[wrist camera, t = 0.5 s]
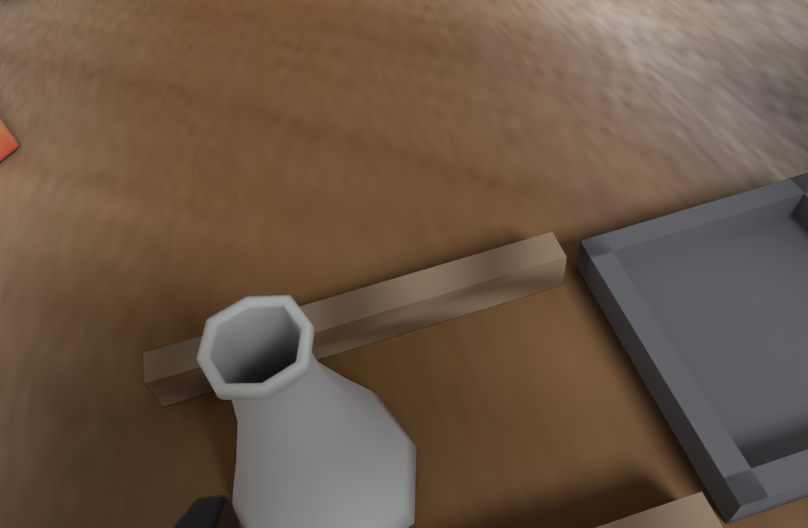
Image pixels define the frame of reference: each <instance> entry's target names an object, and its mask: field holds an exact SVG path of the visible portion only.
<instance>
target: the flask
mask: <svg viewBox="0 0 808 528" xmlns="http://www.w3.org/2000/svg"><path fill="white" fill-rule="evenodd" d="M313 339H314V327H313V325H312V324H311V322H310V321H309V320H308V318H307V317H306V316H305V314H304V313H303V312H302V310H301V309H300V308H299V306H298V305H297V303H296V302H295V301H294V299H293V298H292V297H291V295H271V296H246V297H245V298H243V299H241V300H239V301H238V302H236V303H234V304H232V305H231V306H229V307H227V308H226V309H224V310H222V311H220V312H219V313H217V314H215V315H213V316H212V317H210V318H208V319H207V320H206V324H205V328H204V331H203V335H202V339H201V343H200V347H199V351H198V354H197V358H196V359H197V361H198V363H199V365H200V367H201V368H202V370H203V372H204V374H205V375H206V377H207V379H208V381H209V382H210V384H211V386H212V388H213V389H214V391H215V393H216V395H217V396H218V398H220V399H222V400H232V403H233V407H234V410H235V414H236V418H237V422H238V425H237V454H236V469H235V478H234V487H233V500H232V504H233V507H234V510H235V512H236V514H237V516H238V518H239V520H240V522H241V524H242V526H243V528H409V527H410V526H411V525H413V524H414V515H415V484H416V454H417V447H416V446H415V444H414V443H413V442H412V440H411V439H410V438H409V436H408V435H407V434H406V432H405V431H404V430H403V428H402V427H401V426H400V424H399V423H398V422H397V420H396V419H395V418H394V416H393V415H392V414H391V412H390V411H389V410H388V408H387V407H386V406H385V404H384V403H383V402H382V401H381V399H380V398H379V397H378V395H377V394H376V393H374V392H372V391H371V390H369V389H367V388H365V387H363V386H361V385H358V384H356V383H354V382H352V381H350V380H348V379H346V378H344V377H343V376H341V375H339V374H338V373H336V372H334V371H332V370H331V369H329V368H327V367H326V366H324V365H322V364H321V363H319V362H318V361H317V360H316V358H315V357H314V355H313V353H312V346H313Z"/></svg>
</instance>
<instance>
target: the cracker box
mask: <svg viewBox="0 0 808 528" xmlns="http://www.w3.org/2000/svg"><path fill="white" fill-rule="evenodd" d="M18 146H19V144H18V142H17V141H16V139H15V138H14V136H13V135H12V134H11V132H10V131H9V130H8V128H7V127H6V126H5V124H4V123H3V121H2V120H1V119H0V161H2V160H3V159H4V158H5V157H7V156H8V155H9V154H10V153H12V152H13V151H14V150H15V149H16V148H17V147H18Z"/></svg>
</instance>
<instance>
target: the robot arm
mask: <svg viewBox="0 0 808 528" xmlns="http://www.w3.org/2000/svg"><path fill="white" fill-rule="evenodd" d="M173 528H241V526H240V524H239V521H238V518H237V515H236V513H235V510H234V507H233V504H232V502H231V500H230V499H229V497H228V496H225V495H219V496H211V497H203V498H199V499H197V500H196V501H195V502H193V503H192V505H191V506H190V507H189V508H188V509H187V511H186V512H185V513H184V514H183V515H182V517H181V518H180V519H179V520H178V522H177V523H176V524H175V525H174V526H173Z"/></svg>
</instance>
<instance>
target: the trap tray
mask: <svg viewBox="0 0 808 528" xmlns="http://www.w3.org/2000/svg"><path fill="white" fill-rule="evenodd" d="M577 268H578V270H579V271H580V273H581V275H582V276H583V278H584V280H585V282H586V283H587V285H588V287H589V288H590V290H591V292H592V294H593V295H594V297H595V299H596V301H597V302H598V304H599V306H600V307H601V309H602V311H603V313H604V314H605V316H606V318H607V319H608V321H609V323H610V325H611V326H612V328H613V330H614V331H615V333H616V335H617V337H618V338H619V340H620V342H621V343H622V345H623V347H624V349H625V350H626V352H627V354H628V355H629V357H630V359H631V361H632V362H633V364H634V366H635V367H636V369H637V371H638V373H639V374H640V376H641V378H642V380H643V381H644V383H645V385H646V386H647V388H648V390H649V392H650V393H651V395H652V397H653V398H654V400H655V402H656V404H657V405H658V407H659V409H660V410H661V412H662V414H663V416H664V417H665V419H666V421H667V422H668V424H669V426H670V428H671V429H672V431H673V433H674V434H675V436H676V438H677V440H678V441H679V443H680V445H681V447H682V448H683V450H684V452H685V453H686V455H687V457H688V459H689V460H690V462H691V464H692V465H693V467H694V469H695V471H696V472H697V474H698V476H699V477H700V479H701V481H702V483H703V484H704V486H705V488H706V489H707V491H708V493H709V495H710V496H711V498H712V500H713V501H714V503H715V505H716V507H717V508H718V510H719V512H720V514H721V515H722V517H723V519H724V520H725V522H726V524H729V523H732V522H735V521H737V520H740V519H743V518H746V517H749V516H752V515H755V514H758V513H761V512H764V511H766V510H769V509H772V508H775V507H778V506H781V505H784V504H787V503H790V502H793V501H795V500H798V499H801V498H804V497H807V496H808V173H806V174H803V175H799V176H796V177H793V178H789V179H786V180H783V181H779V182H776V183H773V184H769V185H766V186H763V187H759V188H756V189H753V190H749V191H746V192H742V193H739V194H736V195H732V196H729V197H726V198H722V199H719V200H716V201H712V202H709V203H706V204H702V205H699V206H696V207H692V208H689V209H686V210H682V211H679V212H675V213H672V214H669V215H665V216H662V217H659V218H655V219H652V220H649V221H645V222H642V223H639V224H635V225H632V226H629V227H625V228H622V229H619V230H615V231H612V232H609V233H605V234H602V235H598V236H595V237H592V238H588V239H585V240H582V241H580V247H579V254H578V261H577Z"/></svg>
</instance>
